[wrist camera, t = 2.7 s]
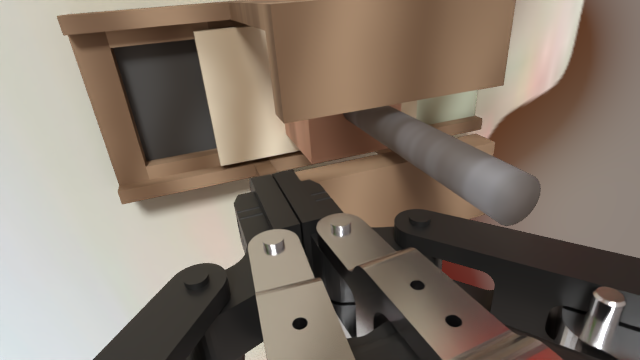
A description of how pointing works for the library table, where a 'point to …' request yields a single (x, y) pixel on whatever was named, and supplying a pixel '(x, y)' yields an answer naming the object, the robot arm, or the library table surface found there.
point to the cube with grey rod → (344, 129)
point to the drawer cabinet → (293, 89)
